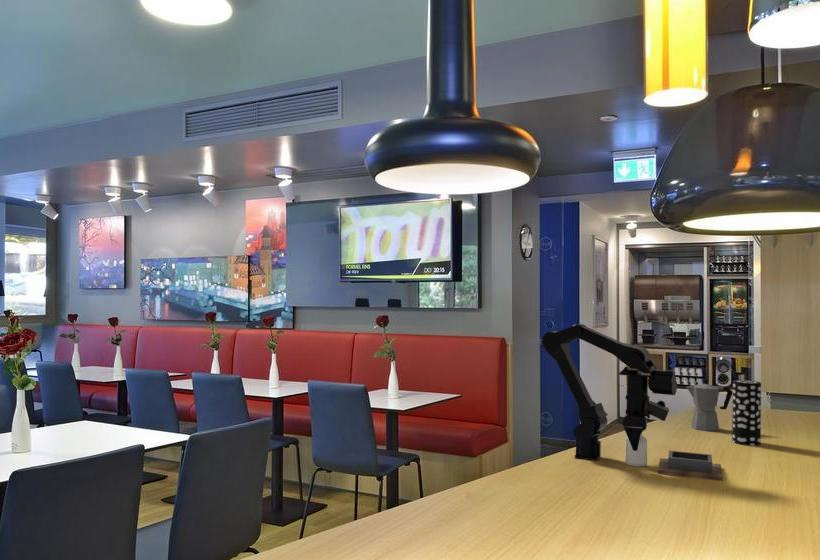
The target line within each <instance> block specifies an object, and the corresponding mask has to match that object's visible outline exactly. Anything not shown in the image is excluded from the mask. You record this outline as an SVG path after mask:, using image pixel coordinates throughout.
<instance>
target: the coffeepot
mask: <svg viewBox="0 0 820 560" xmlns="http://www.w3.org/2000/svg"><path fill="white" fill-rule="evenodd" d="M702 381H703V383H700V384H694V385H687V386H685V389H686V390H688V392H689V394H690V395H691V397H692V399H693V400H692V401H693V405H694V407H695V409H694V411H693V415H692V421H691V426H690V428H691V429H694V430H697V431H705V432H716V431H719V430H720V426H719V425H720V424H719V420H718V415H717V411H716V407H717V406H718V401H719V394H720V393H723V392H726V394H725V400H724V402H723V406H719V409H720V410H727V408H728V406H729V404H730V401H731V398H732V397H733V390H731V388H730V387H728V386H720V385H718V386H715V385H712V384H709V383H708V382H709V379H707V378H703V379H702Z"/></svg>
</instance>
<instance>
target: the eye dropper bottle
mask: <svg viewBox="0 0 820 560" xmlns="http://www.w3.org/2000/svg"><path fill="white" fill-rule="evenodd" d="M626 436H627V435H626ZM625 463H626V465H627V466H630V467H631V466H632V467H647V466H648V438H646V437H645V436H643V435H640V440H639V445H638V449H637V451H634V450H633V449H632V446H631V444H630V441H629V439H628V436H627V437H626V440H625Z"/></svg>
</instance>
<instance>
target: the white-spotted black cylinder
mask: <svg viewBox="0 0 820 560" xmlns="http://www.w3.org/2000/svg"><path fill="white" fill-rule="evenodd" d="M761 412H762V382H760V381H756V380H748V379H747V380H745V379H744V380H743V379H735V380H732V422H731V423H732V431H731V433H732V435H731V436H732V438H731V439H732V441H731V442H732V443H734V444H737V445H742V446H749V447H750V446H751V447H752V446H754V447H755V446H761V445H762V444H761V443H762V441H761V438H762V437H761V436H762V435H761V434H762V433H761V432H762V431H761V429H762V428H761V427H762V423H761V422H762V413H761Z"/></svg>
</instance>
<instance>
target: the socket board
mask: <svg viewBox="0 0 820 560" xmlns="http://www.w3.org/2000/svg"><path fill="white" fill-rule="evenodd" d="M722 468H723V467H722V464H721V463H720V464H719V463H712V473H704V472H694V471H685V470H676V469H668V458H662V457H660V458H659V461H658V467H657V474H660V475H661V474H662V475H670V476H677V477H686V478H694V479H695V478H696V479H704V480H713V481H721V482H722V481H723V482H724V475H723V474H724V473H723V469H722Z"/></svg>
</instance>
